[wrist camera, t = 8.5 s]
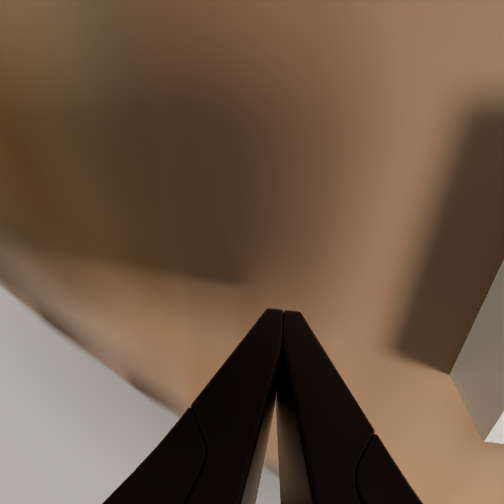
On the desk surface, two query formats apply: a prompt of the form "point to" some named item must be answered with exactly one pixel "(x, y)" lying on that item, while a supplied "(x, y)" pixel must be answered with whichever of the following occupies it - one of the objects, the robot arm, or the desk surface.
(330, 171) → the desk surface
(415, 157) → the desk surface
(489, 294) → the tile
